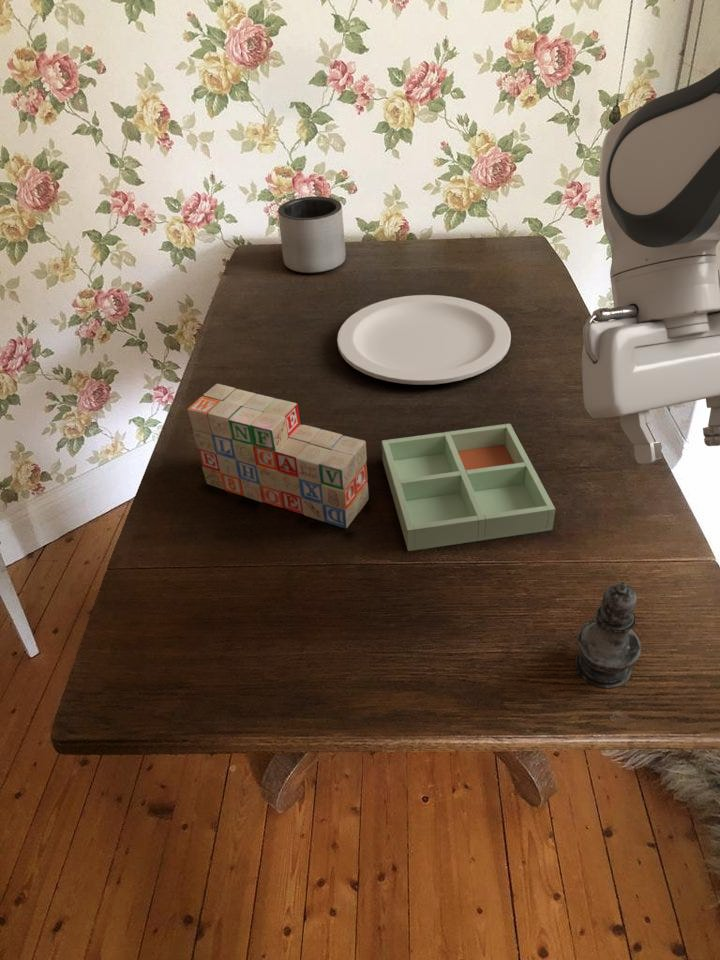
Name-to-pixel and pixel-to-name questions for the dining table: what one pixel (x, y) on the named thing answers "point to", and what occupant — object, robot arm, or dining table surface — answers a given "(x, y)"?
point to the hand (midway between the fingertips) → (684, 453)
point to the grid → (465, 487)
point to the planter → (312, 234)
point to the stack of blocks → (278, 455)
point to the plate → (424, 339)
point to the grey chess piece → (609, 639)
